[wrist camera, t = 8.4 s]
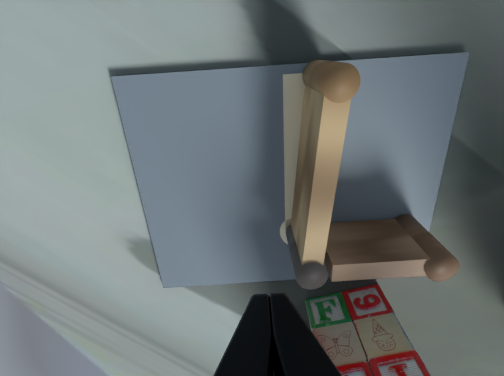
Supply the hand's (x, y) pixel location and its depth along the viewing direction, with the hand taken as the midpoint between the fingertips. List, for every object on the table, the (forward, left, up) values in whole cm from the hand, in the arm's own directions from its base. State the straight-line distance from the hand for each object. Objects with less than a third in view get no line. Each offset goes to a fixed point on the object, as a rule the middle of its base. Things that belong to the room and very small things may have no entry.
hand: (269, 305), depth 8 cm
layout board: (-2, +3, -13) cm, 13 cm away
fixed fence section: (-7, +6, -13) cm, 15 cm away
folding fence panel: (-3, +1, -12) cm, 12 cm away
